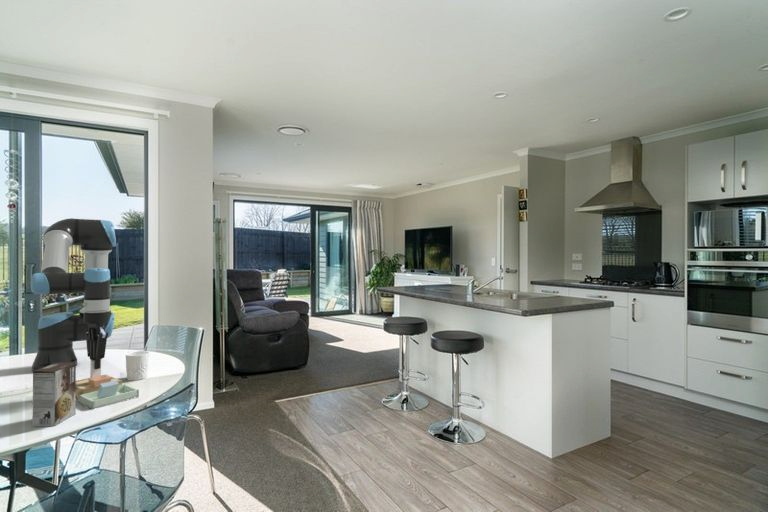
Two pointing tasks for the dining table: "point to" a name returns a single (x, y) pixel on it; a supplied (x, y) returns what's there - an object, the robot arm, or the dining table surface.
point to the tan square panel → (89, 386)
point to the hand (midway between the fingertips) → (95, 377)
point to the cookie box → (54, 394)
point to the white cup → (137, 365)
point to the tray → (121, 394)
